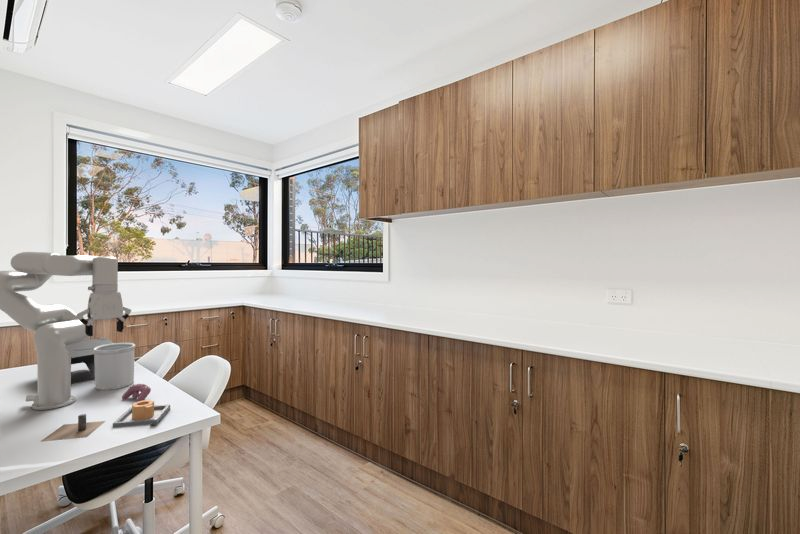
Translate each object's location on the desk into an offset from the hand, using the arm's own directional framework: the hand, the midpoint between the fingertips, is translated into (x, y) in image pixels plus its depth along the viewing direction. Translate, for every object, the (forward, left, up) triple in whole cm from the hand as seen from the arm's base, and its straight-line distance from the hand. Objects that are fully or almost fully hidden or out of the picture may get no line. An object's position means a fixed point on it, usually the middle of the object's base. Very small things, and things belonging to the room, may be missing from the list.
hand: (105, 333), depth 141 cm
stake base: (+1, -22, -28) cm, 36 cm away
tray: (+18, -15, -28) cm, 37 cm away
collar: (+18, -15, -28) cm, 36 cm away
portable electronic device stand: (-29, +47, -29) cm, 62 cm away
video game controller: (+8, +7, -29) cm, 31 cm away
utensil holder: (-8, +28, -29) cm, 41 cm away
